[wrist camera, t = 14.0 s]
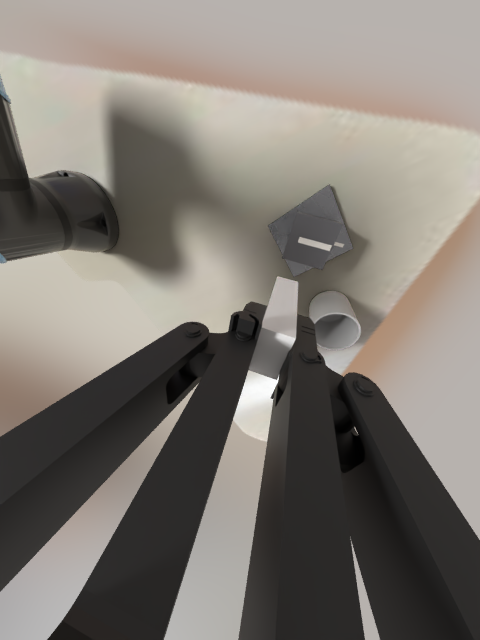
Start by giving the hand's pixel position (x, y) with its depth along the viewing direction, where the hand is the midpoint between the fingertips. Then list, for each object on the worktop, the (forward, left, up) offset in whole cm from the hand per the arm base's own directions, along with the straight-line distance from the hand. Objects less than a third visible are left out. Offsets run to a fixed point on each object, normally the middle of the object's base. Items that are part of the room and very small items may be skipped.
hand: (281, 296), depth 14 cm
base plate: (0, +2, -23) cm, 23 cm away
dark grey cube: (0, +3, -22) cm, 22 cm away
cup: (+15, -1, -23) cm, 27 cm away
